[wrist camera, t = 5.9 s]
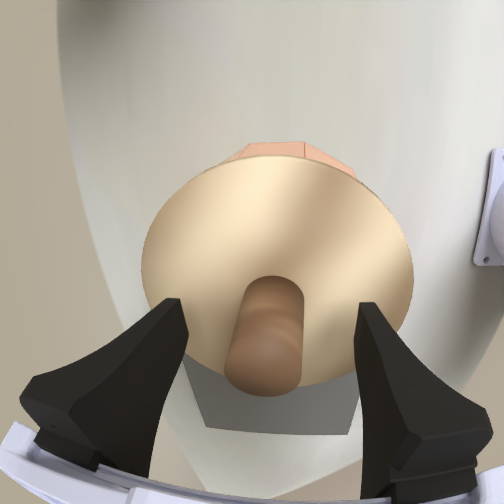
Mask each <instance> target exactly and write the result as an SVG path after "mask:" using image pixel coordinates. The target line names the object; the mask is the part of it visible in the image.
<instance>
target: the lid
mask: <svg viewBox="0 0 504 504" xmlns="http://www.w3.org/2000/svg"><path fill="white" fill-rule="evenodd" d="M141 273H142V281H143V287H144V291H145V295H146V298H147V301H148V303H149V306H150V308H151V310H152V309H153V308H154V307H156V306H157V305H158V304H159V303H161V302H162V301H163V300H164V299H166V298H180V301H181V305H182V309H183V312H184V316H185V320H186V324H187V328H188V332H189V338H188V342H187V346H186V350H185V353H186V354H187V355H189V356H190V357H192V358H193V359H194V360H196V361H197V362H199V363H200V364H202V365H204V366H206V367H207V368H209V369H211V370H213V371H215V372H217V373H219V374H222V375H224V376H225V377H226V378H227V380H228V381H229V382H230V383H231V384H232V385H233V386H234V387H235V388H237V389H239V390H240V391H242V392H245V393H247V394H250V395H254V396H260V397H276V396H281V395H284V394H287V393H289V392H291V391H292V390H294V389H295V388H296V387H299V386H308V385H314V384H318V383H323V382H327V381H330V380H333V379H336V378H339V377H341V376H343V375H346V374H348V373H350V372H352V371H354V370H356V368H355V361H354V342H353V340H354V334H355V327H356V321H357V314H358V307H359V302H375V303H376V304H377V306H378V307H379V309H380V310H381V312H382V313H383V315H384V316H385V318H386V319H387V321H388V322H389V324H390V325H391V326H392V328H393V329H394V330H395V332H396V333H397V331H398V330H399V328H400V327H401V325H402V323H403V321H404V319H405V317H406V314H407V312H408V309H409V306H410V302H411V298H412V292H413V284H414V277H413V264H412V259H411V254H410V250H409V247H408V244H407V242H406V239H405V237H404V234H403V232H402V231H401V229H400V227H399V226H398V224H397V222H396V221H395V219H394V217H393V216H392V214H391V212H390V211H389V209H388V208H387V207H386V206H385V205H384V203H383V202H382V201H381V200H380V199H379V198H378V196H377V195H375V194H374V193H373V192H372V191H371V190H370V189H369V188H367V187H366V186H365V185H364V184H363V183H361V182H360V181H358V180H357V179H355V178H354V177H352V176H350V175H349V174H347V173H346V172H344V171H341V170H339V169H337V168H335V167H333V166H330V165H328V164H326V163H322V162H319V161H315V160H312V159H308V158H304V157H297V156H290V155H256V156H249V157H242V158H238V159H235V160H231V161H228V162H224V163H221V164H219V165H217V166H215V167H212V168H210V169H208V170H206V171H204V172H202V173H201V174H199V175H198V176H196V177H195V178H193V179H191V180H190V181H188V182H187V183H186V184H185V185H184V186H183V187H182V188H181V189H179V190H178V191H177V192H176V193H175V194H174V195H173V196H172V197H171V198H170V199H169V200H168V201H167V202H166V204H165V205H164V206H163V207H162V209H161V210H160V211H159V212H158V214H157V215H156V217H155V219H154V221H153V223H152V224H151V226H150V228H149V231H148V234H147V237H146V239H145V242H144V247H143V253H142V265H141Z"/></svg>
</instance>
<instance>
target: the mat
mask: <svg viewBox="0 0 504 504" xmlns="http://www.w3.org/2000/svg"><path fill="white" fill-rule="evenodd" d="M182 360H183V363H184V366H185V369H186V372H187V375H188V378H189V381H190V384H191V386H192V389H193V392H194V395H195V398H196V401H197V403H198V406H199V409H200V412H201V414H202V417H203V420H204V422H205V425H206V427H210V428H217V429H226V430H235V431H245V432H257V433H272V434H293V435H348V432H349V428H350V425H351V422H352V419H353V415H354V412H355V409H356V405H357V402H358V398H359V394H360V393H359V386H358V380H357V374H356V370H354V371H352V372H350V373H348V374H346V375H343V376H341V377H339V378H336V379H333V380H330V381H327V382H323V383H318V384H314V385H308V386H299V387H296V388H295V389H294V390H292V391H291V392H289V393H287V394H284V395H281V396H276V397H260V396H254V395H250V394H247V393H245V392H242V391H240V390H239V389H237V388H235V387H234V386H233V385H232V384H231V383H230V382H229V381H228V380H227V378H226V377H225V376H224V375H222V374H219V373H217V372H215V371H213V370H211V369H209V368H207V367H206V366H204V365H202V364H200V363H199V362H197V361H196V360H194V359H193V358H192V357H190V356H189V355H187V354H186V353H184V356H183V359H182Z"/></svg>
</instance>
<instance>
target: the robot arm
mask: <svg viewBox="0 0 504 504" xmlns="http://www.w3.org/2000/svg"><path fill="white" fill-rule="evenodd" d="M503 156H504V148H499V147H497V148H495V149H493V151H492V154H491V163H490V172H489V179H488V186H487V193H486V199H485V205H484V210H483V216H482V221H481V226H480V230H479V235H478V239H477V244H476V248H475V252H474V256H473V261H474V263H475V264H476V265H477V266H504V160H503ZM485 257H487V258H486V259H485V260H484V258H485ZM188 338H189V332H188V328H187V324H186V320H185V316H184V312H183V309H182V305H181V301H180V298H166V299H164V300H163V301H162V302H161V303H159V304H158V305H157V306H156V307H154V308H153V309H152V310H151V311H150V312H149V313H147V314H146V315H145V316H144V317H142V318H141V319H140V320H139V321H138V322H136V323H135V324H134V325H133V326H131V327H130V328H129V329H127V330H126V331H125V332H123V333H122V334H121V335H119V336H118V337H117V338H115V339H114V340H113V341H111V342H110V343H108V344H107V345H105V346H103V347H102V348H100V349H98V350H97V351H95V352H93V353H91V354H89V355H88V356H86V357H84V358H82V359H80V360H78V361H76V362H73V363H72V364H69V365H67V366H64V367H61V368H59V369H56V370H53V371H50V372H47V373H44V374H40V375H37V376H34V377H33V378H32V379H31V381H30V382H29V383H28V385H27V386H26V388H25V389H24V391H23V392H22V394H21V395H20V397H19V399H20V403H21V405H22V407H23V408H24V409H25V410H26V412H27V413H28V414H29V415H30V417H31V418H32V419H33V420H34V421H35V422H36V423H37V425H38V426H39V427H40V430H39V432H38V433H37V432H36V431H34V430H33V429H31V428H30V427H28V426H26V425H23V424H22V423H20V422H18V421H15V422H14V424H13V425H12V427H11V429H10V430H9V432H8V433H7V435H6V437H5V438H4V440H3V442H2V444H1V445H0V469H1V470H2V471H3V472H4V473H6V474H7V475H8V476H10V477H11V478H12V479H13V480H15V481H16V482H17V483H19V484H20V485H22V486H23V487H24V488H25V489H27V490H29V491H31V492H32V493H34V494H35V495H37V496H39V497H40V498H42V499H44V500H46V501H47V502H49V503H51V504H504V465H501V466H498V467H495V468H492V469H488V470H485V471H482V472H481V473H478V474H477V475H476V474H475V469H474V468H475V467H477V464H478V463H477V459H476V456H477V455H478V454H479V453H480V452H481V451H482V449H483V448H484V447H485V446H486V445H487V444H488V442H489V441H490V440H491V438H492V436H493V430H492V427H491V423H490V419H489V417H488V414H487V412H486V410H485V408H483V407H481V406H479V405H478V404H476V403H474V402H472V401H471V400H469V399H467V398H465V397H464V396H462V395H461V394H459V393H458V392H456V391H455V390H453V389H452V388H451V387H449V386H448V385H447V384H445V383H444V382H443V381H442V380H441V379H439V378H438V377H437V376H436V375H434V374H433V373H432V372H431V371H430V370H429V369H428V368H427V367H426V366H425V365H424V364H423V363H422V362H421V361H420V360H419V359H418V358H417V357H416V356H415V355H414V354H413V353H412V352H411V350H410V349H409V348H408V347H407V346H406V345H405V343H404V342H403V341H402V340H401V338H400V337H399V336H398V334H397V333H396V332H395V330H394V329H393V328H392V326H391V325H390V324H389V322H388V321H387V319H386V318H385V316H384V315H383V313H382V312H381V310H380V309H379V307H378V306H377V304H376V303H375V302H359V307H358V314H357V321H356V327H355V334H354V340H353V342H354V361H355V368H356V374H357V380H358V386H359V393H360V399H361V406H362V415H363V465H362V483H361V496H360V500H346V501H287V500H285V501H284V500H270V499H258V498H248V497H239V496H231V495H224V494H218V493H211V492H205V491H200V490H195V489H189V488H185V487H180V486H175V485H171V484H166V483H163V482H158V481H155V480H150V479H148V476H149V469H150V462H151V456H152V451H153V446H154V440H155V436H156V432H157V428H158V424H159V420H160V416H161V413H162V409H163V406H164V403H165V400H166V397H167V395H168V392H169V390H170V387H171V385H172V383H173V380H174V378H175V376H176V373H177V371H178V369H179V366H180V364H181V361H182V359H183V356H184V353H185V350H186V346H187V342H188Z"/></svg>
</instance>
